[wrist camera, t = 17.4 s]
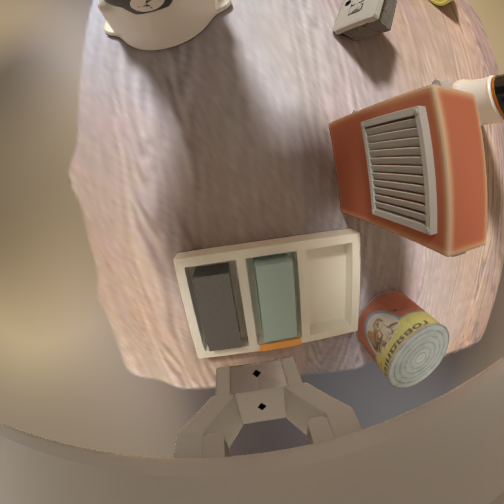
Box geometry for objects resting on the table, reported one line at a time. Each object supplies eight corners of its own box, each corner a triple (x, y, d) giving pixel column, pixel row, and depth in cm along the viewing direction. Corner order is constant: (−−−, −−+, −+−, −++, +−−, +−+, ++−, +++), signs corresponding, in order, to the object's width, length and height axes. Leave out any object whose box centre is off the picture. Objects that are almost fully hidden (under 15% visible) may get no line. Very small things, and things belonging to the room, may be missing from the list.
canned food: (376, 281, 40) (419, 316, 29) (419, 299, 42) (459, 331, 31) (344, 340, 43) (373, 385, 31) (388, 350, 45) (420, 389, 33)
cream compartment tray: (177, 252, 36) (172, 260, 33) (350, 228, 37) (361, 233, 34) (200, 347, 41) (198, 360, 37) (350, 322, 42) (358, 332, 39)
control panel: (364, 113, 33) (378, 214, 37) (320, 114, 33) (335, 222, 37) (476, 80, 12) (489, 258, 17) (418, 64, 12) (438, 277, 16)
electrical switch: (343, -2, 27) (372, -26, 18) (370, 14, 28) (402, -6, 19) (330, 33, 29) (361, 8, 20) (359, 50, 30) (395, 31, 22)
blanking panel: (252, 256, 37) (255, 266, 33) (285, 252, 37) (292, 261, 33) (261, 326, 40) (264, 342, 36) (291, 322, 40) (297, 336, 36)
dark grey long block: (195, 267, 36) (192, 278, 33) (228, 262, 37) (229, 273, 33) (210, 335, 40) (209, 351, 36) (240, 331, 40) (241, 347, 36)
